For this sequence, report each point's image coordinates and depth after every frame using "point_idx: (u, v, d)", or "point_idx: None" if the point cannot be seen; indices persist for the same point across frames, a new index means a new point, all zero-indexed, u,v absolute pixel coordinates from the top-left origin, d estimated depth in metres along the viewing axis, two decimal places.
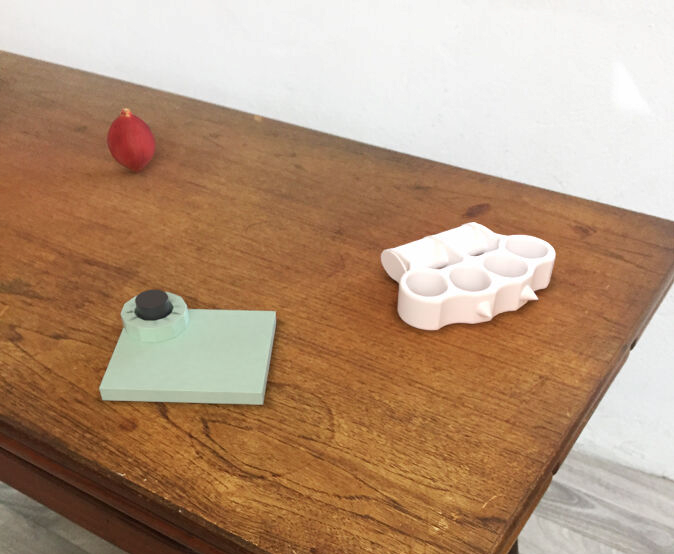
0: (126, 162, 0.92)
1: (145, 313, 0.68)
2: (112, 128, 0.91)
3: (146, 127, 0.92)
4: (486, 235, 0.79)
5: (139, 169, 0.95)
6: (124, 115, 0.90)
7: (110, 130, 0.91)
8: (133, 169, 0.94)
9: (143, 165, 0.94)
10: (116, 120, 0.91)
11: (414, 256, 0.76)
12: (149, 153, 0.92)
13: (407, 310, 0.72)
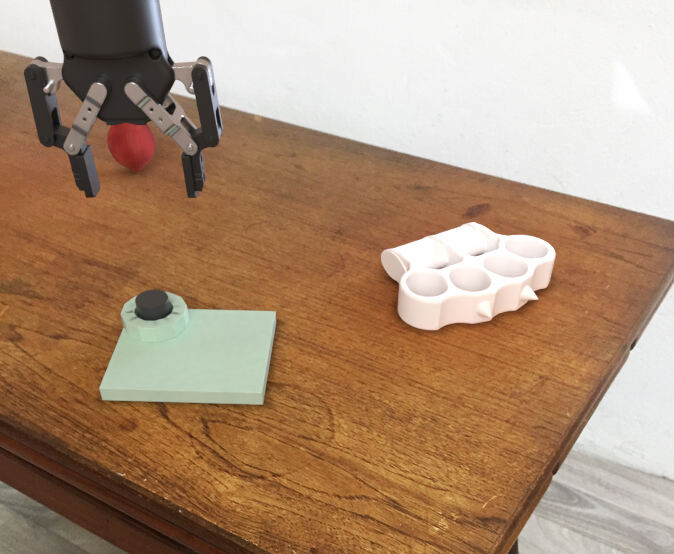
0: (126, 162, 0.92)
1: (145, 313, 0.68)
2: (112, 128, 0.91)
3: (146, 127, 0.92)
4: (486, 235, 0.79)
5: (139, 169, 0.95)
6: None
7: (110, 130, 0.91)
8: (133, 169, 0.94)
9: (143, 165, 0.94)
10: None
11: (414, 256, 0.76)
12: (149, 153, 0.92)
13: (407, 310, 0.72)
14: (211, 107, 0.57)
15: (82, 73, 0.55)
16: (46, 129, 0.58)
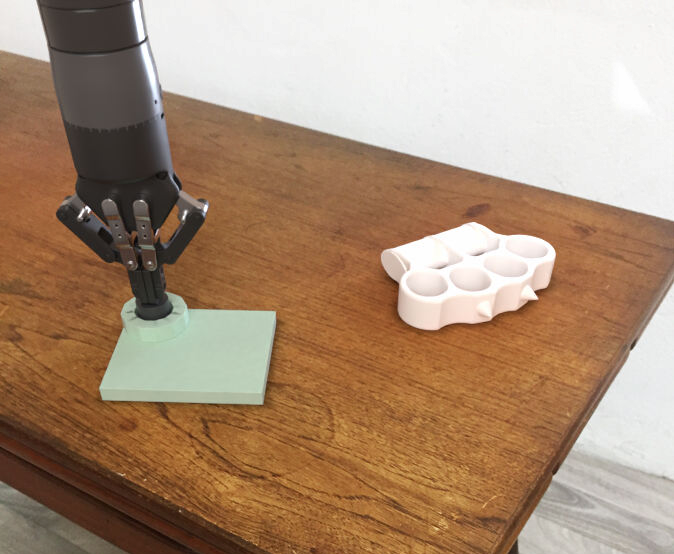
0: None
1: (145, 314, 0.68)
2: None
3: None
4: (486, 235, 0.79)
5: None
6: None
7: None
8: None
9: None
10: None
11: (414, 256, 0.76)
12: None
13: (407, 310, 0.72)
14: (188, 241, 0.63)
15: (89, 186, 0.59)
16: (102, 249, 0.63)
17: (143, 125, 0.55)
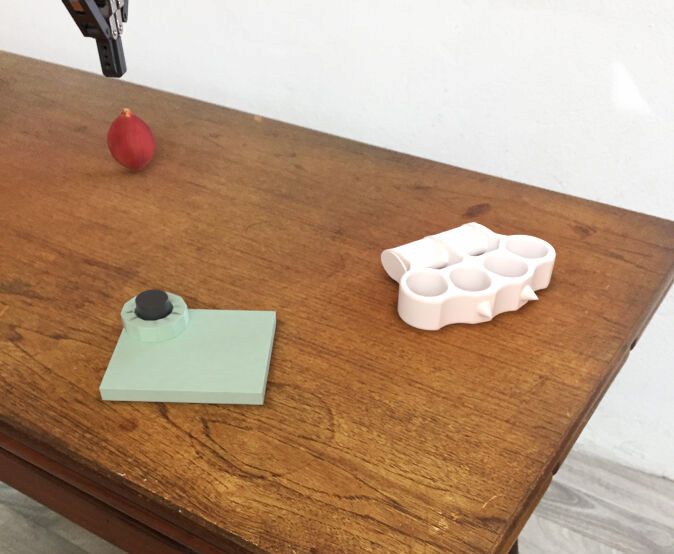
0: (126, 162, 0.92)
1: (145, 313, 0.68)
2: (112, 128, 0.91)
3: (146, 127, 0.92)
4: (486, 235, 0.79)
5: (139, 169, 0.95)
6: (124, 115, 0.90)
7: (110, 130, 0.91)
8: (133, 169, 0.94)
9: (143, 165, 0.94)
10: (116, 120, 0.91)
11: (414, 256, 0.76)
12: (149, 153, 0.92)
13: (407, 310, 0.72)
14: None
15: None
16: (104, 24, 0.73)
17: None
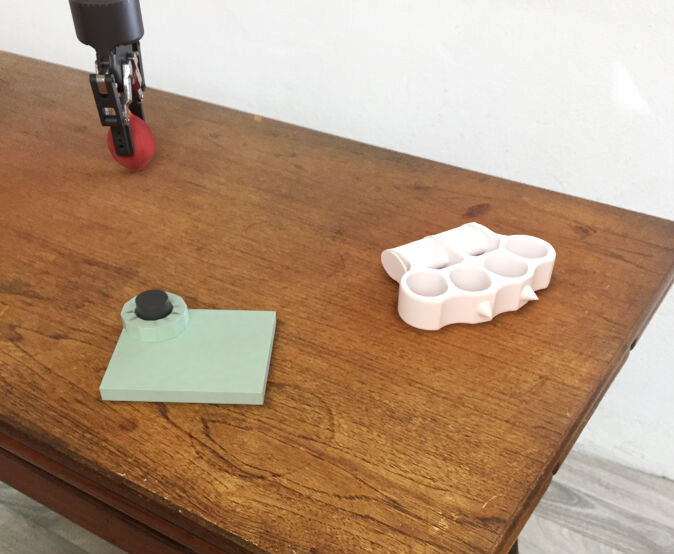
0: (126, 162, 0.92)
1: (145, 313, 0.68)
2: None
3: (146, 127, 0.92)
4: (486, 235, 0.79)
5: (139, 169, 0.95)
6: None
7: (110, 130, 0.91)
8: (133, 169, 0.94)
9: (143, 165, 0.94)
10: None
11: (414, 256, 0.76)
12: (149, 153, 0.92)
13: (407, 310, 0.72)
14: (141, 64, 0.92)
15: (118, 60, 0.84)
16: (121, 113, 0.85)
17: None
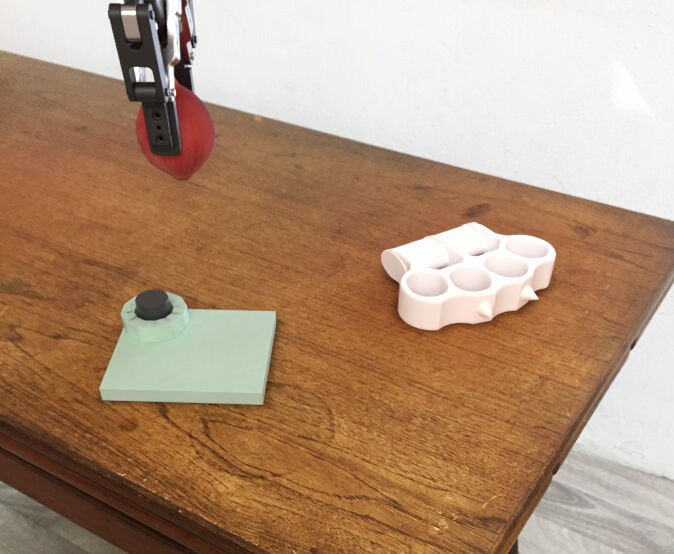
0: (167, 165, 0.55)
1: (145, 313, 0.68)
2: None
3: (202, 106, 0.55)
4: (486, 235, 0.79)
5: (187, 176, 0.58)
6: None
7: (142, 111, 0.54)
8: (178, 176, 0.57)
9: (194, 170, 0.57)
10: None
11: (414, 256, 0.76)
12: (205, 149, 0.55)
13: (407, 310, 0.72)
14: (191, 1, 0.55)
15: None
16: (164, 78, 0.48)
17: None
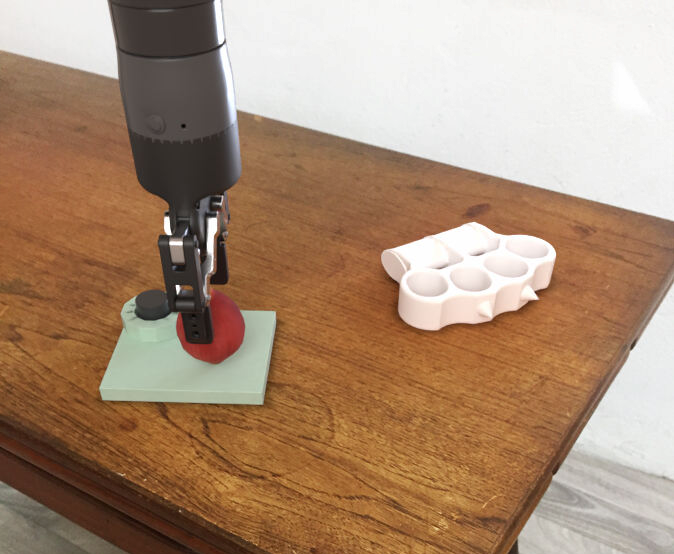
0: (203, 359, 0.63)
1: (145, 313, 0.68)
2: None
3: (234, 309, 0.62)
4: (487, 235, 0.79)
5: (220, 362, 0.65)
6: None
7: None
8: None
9: (227, 357, 0.64)
10: None
11: (414, 256, 0.76)
12: (237, 344, 0.63)
13: (408, 310, 0.72)
14: None
15: (202, 215, 0.54)
16: (202, 293, 0.54)
17: None
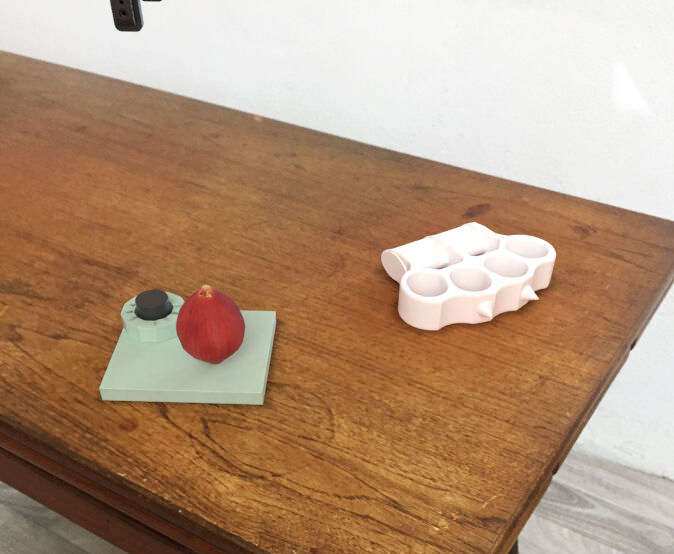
0: (203, 359, 0.63)
1: (145, 313, 0.68)
2: (185, 313, 0.61)
3: (234, 309, 0.62)
4: (487, 235, 0.79)
5: (220, 362, 0.65)
6: (204, 296, 0.61)
7: (182, 315, 0.61)
8: None
9: (227, 357, 0.64)
10: (191, 301, 0.61)
11: (414, 256, 0.76)
12: (237, 344, 0.63)
13: (408, 310, 0.72)
14: None
15: None
16: None
17: None
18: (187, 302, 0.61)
